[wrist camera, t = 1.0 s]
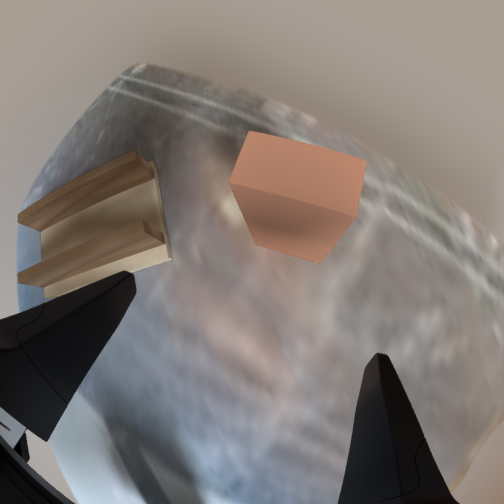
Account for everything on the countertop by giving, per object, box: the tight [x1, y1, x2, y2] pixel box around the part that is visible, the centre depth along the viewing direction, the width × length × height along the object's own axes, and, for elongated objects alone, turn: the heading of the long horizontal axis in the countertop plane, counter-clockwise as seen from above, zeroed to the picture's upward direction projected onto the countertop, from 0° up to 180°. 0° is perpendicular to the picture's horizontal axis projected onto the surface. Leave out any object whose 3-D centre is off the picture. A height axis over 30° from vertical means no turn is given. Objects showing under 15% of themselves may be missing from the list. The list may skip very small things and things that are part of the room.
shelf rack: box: [18, 150, 173, 299], centre depth 23 cm, size 10×16×5 cm, turn 106°
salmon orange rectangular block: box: [228, 131, 367, 264], centre depth 17 cm, size 3×6×12 cm, turn 72°
